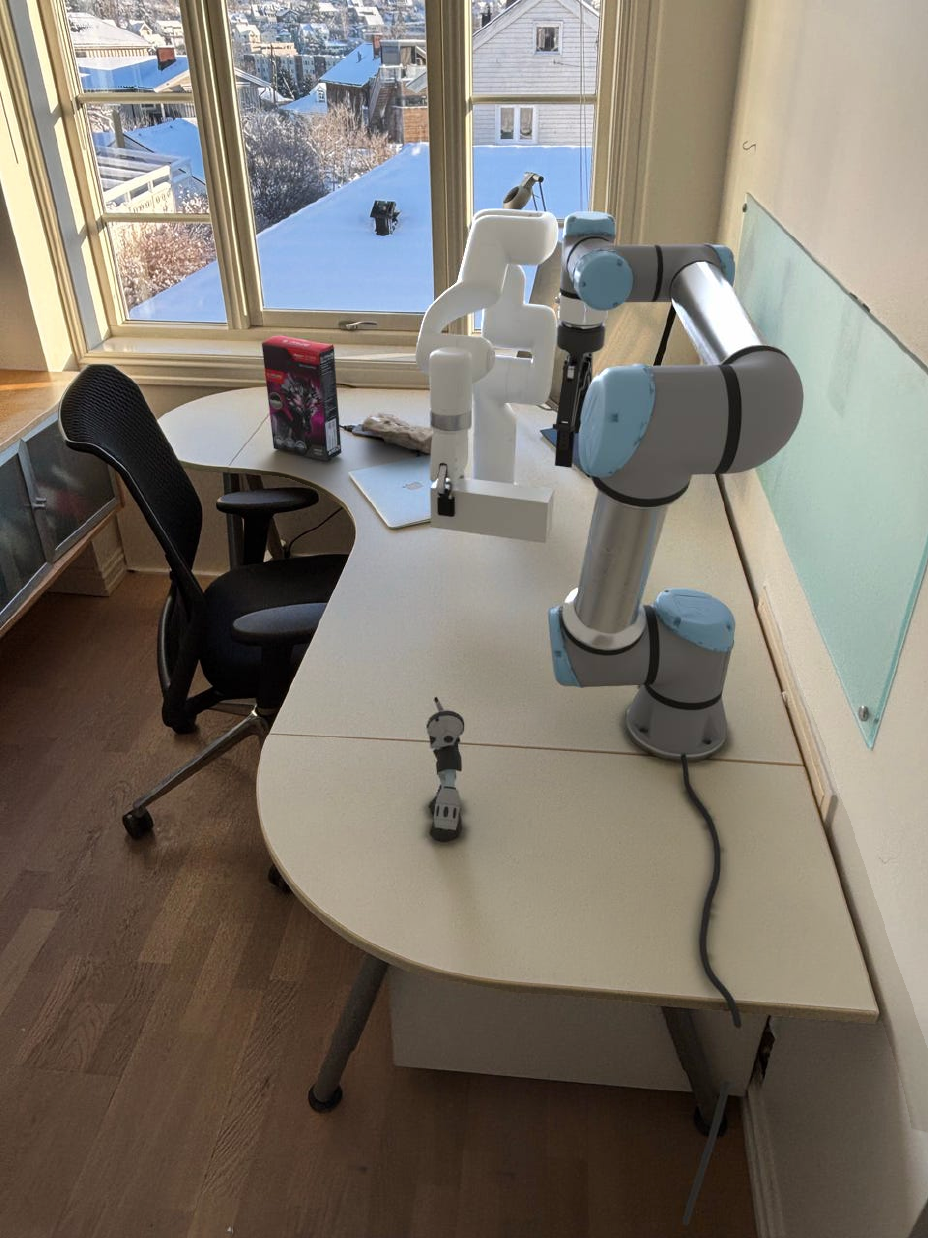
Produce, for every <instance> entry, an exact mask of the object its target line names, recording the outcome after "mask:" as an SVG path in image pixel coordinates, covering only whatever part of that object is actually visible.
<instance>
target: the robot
mask: <svg viewBox="0 0 928 1238" xmlns="http://www.w3.org/2000/svg"><path fill="white" fill-rule="evenodd" d="M433 701H434V703H435V706H436V708H437V712H434V713H433V714H432V715H430V717H429V718H428V720H427V722H426V724H425V727H426V734H427V735H428V738H429V747H430V749H432V753H433V755H434V757H435V759H436V762H435V769H436V775H437V777H438V778H439V783H440V784H439V785H438V789H437V792H436V795H434V797H433V798H432V799H431V801H430V802H429V804H428V809H429V811H430V814H431V815H432V816H433V821H432V824H431V826H430V829H429V832H428V834H429V835H430V836H431V837H432V838H433V839H434V840H435V841H439V842H449V841H452V840H454V839H457V838H459V837H460V835H461V832H462V831H463V827H462V826H463V825H462V817H461V815H460V812H461V810H462V808H461V797H460V793H459V792H460V791H459V790H458V789H457V787H456V781H457V772H462V770H463V766H462V765H463V761H462V755H461V752H460V747H459V743H460V742H461V737H460V736H461V735H463V733H464V732H465V720H464V717H462V715H461V714H460V713H458V712H457V711H454V710H451V709H445V708H444V707H443V705H442V703H441V702H440V699H439V698H438V697H437V696H435V697H434V698H433Z"/></svg>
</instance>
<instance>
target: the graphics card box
mask: <svg viewBox="0 0 928 1238" xmlns="http://www.w3.org/2000/svg"><path fill="white" fill-rule="evenodd" d="M261 349H262V358H263V365H264V366H263V367H264V375H265V383H266V392H267V400H268V401H267V402H268V409H269V419H270V429H271V437H272V446H273V449H274V450H277V451H282V452H286V453H291V454H295V455H299V456H303V457H307V458H312V459H316V460H320V461H324V462H329V461H330V460H332V459H333V458H335V457H337V456H338V455H340V454H342V442H341V441H342V439H341V426H340V415H339V414H340V413H339V402H338V401H339V400H338V389H337V388H338V387H337V386H338V385H337V375H336V374H337V373H336V358H335V357H336V356H335V346H334V344H331V343H323V342H322V343H321V342H316V341H311V340H306V339H302V338H296V337H292V336H291V337H290V336H286V335H285V336H284V335H280V334H275V335H273V336H271V337H269V338H266V339H265V340H263V341H262V342H261Z"/></svg>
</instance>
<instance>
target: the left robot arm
mask: <svg viewBox="0 0 928 1238" xmlns="http://www.w3.org/2000/svg"><path fill="white" fill-rule="evenodd" d="M558 240H559V223H558V220H557V218H556V216H555V215H554V213H552V212H550V211H543V210H542V211H541V210H528V209H527V210H525V209H515V208H514V209H513V208H485V209H481V210H478V211H477V212H476V213H475V214H474V215H473V218H472V222H471V228H470V231H469V235H468V239H467V243H466V246H465V250H464V254H463V260H462V263H461V267H460V270H459V274H458V278H457V282H456V283H455V284H453V285H452V286H451V287H449V288H447V289H446V290H445V291H444V292H443V293H441V295H439V296H438V297H437V298H436V299H435V301H434V302H433V303H431V305H430V306H428V309H427V310H426V312H425V314H424V316H423V319H422V322H421V326H420V330H419V333H418V338H417V342H416V347H415V362H416V363H415V364H416V366H417V368H418V369H419V370H420V371H421V372H422V373H424V374H425V375H429V427H431V428H432V429H433V435H432V444H431V453H430V464H429V465H430V466H429V469H430V470H429V480H430V481H431V482H432V483H434V482H435V481H436V480H437V478H438V481H437V486H436V490H437V506H438V515H441V516H448V517H453V516H454V515H455V497H453V489H454V483H456V482H457V481H458V479H459V478H460V477H461V478H465V472H464V471H465V470H466V468H467V466H468V461H469V430H470V429H472V430H473V431H472V479H477V480H485V481H493V482H501V483H509V484H517V485H519V484H518V482H516V481H515V472H516V471H515V469H516V466H515V465H516V447H517V446H516V443H517V417H516V414H515V411H514V410H513V408H512V407H511V405H510V404H516V405H523V406H524V405H525V406H542V405H544V404H545V403H547V401H548V400H549V397H550V394H551V390H552V383H553V375H554V365H555V356H556V346H557V345H556V332H557V323H558V319H557V315H556V312H555V311H554V309H553V308H552V307H550V306H548V305H544V304H538V303H536V304H535V303H526V301H525V296H526V286H527V276H526V273H525V271H524V269H523V267H522V266H529V267H535V266H539V265H541V264H543V263H544V262H545V261H546V260H548V259H549V258H550V257H551V256H552V254H553V253H554V251H555V249H556V247H557V244H558ZM480 311H482V314H481V326H480V327H481V328H480V331H481V333H480V334H481V336H473V335H464V334H455V333H444V332H442V331H444V329H445V328H446V326H448V325H449V324H450V323H452V322H453V321H455V320H457V319H460V318H462V317H464V316H468V315H471V314H474V313H477V312H480ZM495 349H497V350H508V351H518V352H528V353H530V355H531V358H527V357H515V356H510V355H509V356H508V355H497V354H496V352H495ZM472 415H473V416H472ZM472 421H473V422H472ZM472 423H473V424H472ZM446 478H449V479H451V481H446ZM445 484H446V485H450V487H449V490H448V489H447V488H445Z"/></svg>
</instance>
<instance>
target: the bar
mask: <svg viewBox="0 0 928 1238" xmlns="http://www.w3.org/2000/svg"><path fill="white" fill-rule="evenodd" d="M437 481H438V478H437V480H436V481H434V482H432V485H431V486H430V490H429V491H430V494H429V495H430V500H429V501H430V528H434V529H440V530H441V529H442V530H447V531H448V530H450V531H456V532H463V533H468V534H476V535H485V536H492V537H498V538H507V539H513V540H520V541H527V542H535V543H542V544H546V543H547V541H548V538H549V536H550V533H551V531H552V527H553V513H554V501H555V500H554V498H555V489H554V488H550V487H549V488H548V487H541V486H532V485H524V484H518V483H517V484H518V485H517V484H509V483H501V482H493V481H485V480H477V479H473V478H468V477H464V478H461V477H460V478H459V479H458V481H457V482H456V483H454V489H453V497H455V515H454V516H453V517H448V516H441V515H438V506H437V490H436V486H437ZM446 481H451V479H449V478H446ZM449 487H450V485H446V484H445V488H447V489H448V490H449Z"/></svg>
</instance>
